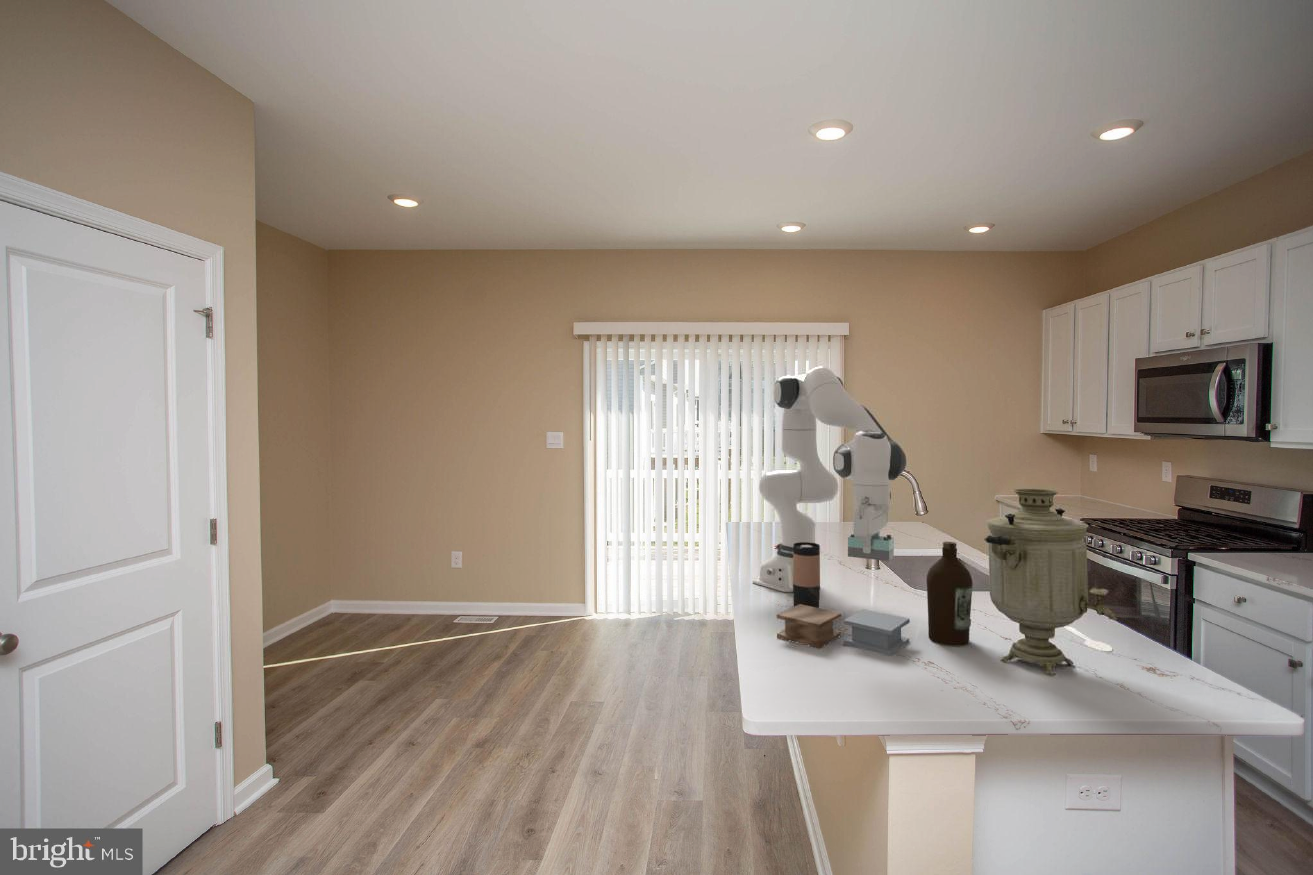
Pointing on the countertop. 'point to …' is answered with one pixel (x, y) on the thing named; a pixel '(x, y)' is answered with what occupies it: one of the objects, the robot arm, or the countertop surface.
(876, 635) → the stand
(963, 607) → the olive oil
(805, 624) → the stand
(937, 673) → the countertop surface
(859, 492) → the robot arm
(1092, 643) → the spoon
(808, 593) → the travel mug
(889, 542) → the block
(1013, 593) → the samovar
